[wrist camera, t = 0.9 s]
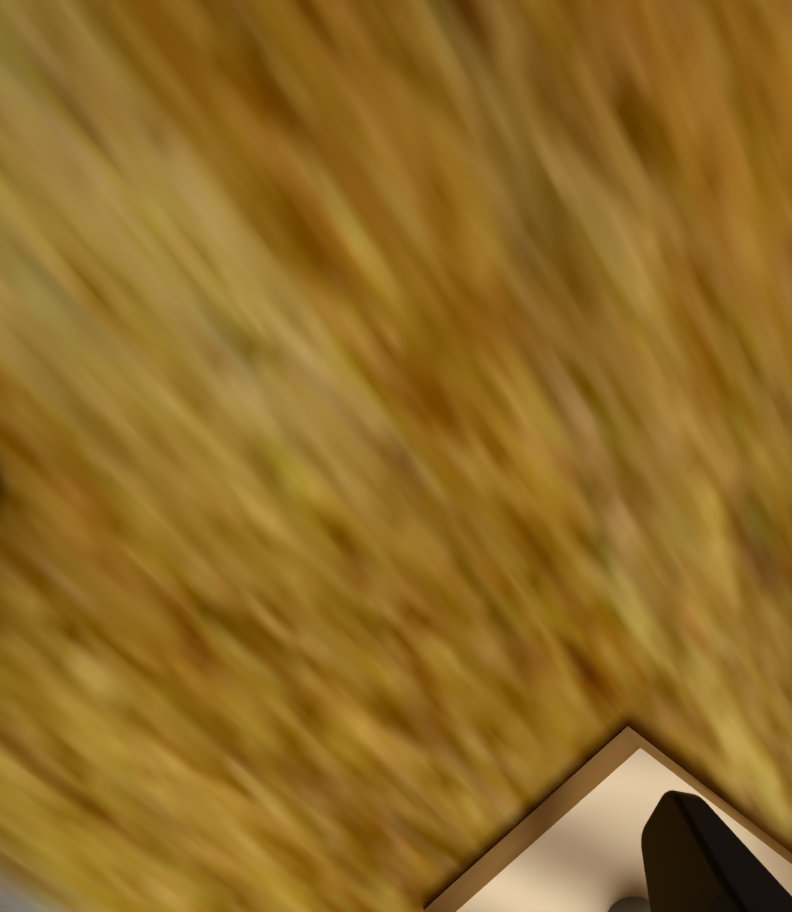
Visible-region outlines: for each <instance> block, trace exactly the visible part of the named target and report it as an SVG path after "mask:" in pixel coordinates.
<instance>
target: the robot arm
mask: <svg viewBox="0 0 792 912" xmlns="http://www.w3.org/2000/svg"><path fill="white" fill-rule="evenodd" d="M641 850H642V857H643V864H644V870H645V877H646V884H647V891H648V898H649V905H650V912H792V896H791V895H790V894H789V893H788V891H787V890H786V889H785V888H784V887H783V886H782V885H781V884H780V883H779V882H778V880H777V879H776V878H775V877H774V876H773V875H772V874H771V873H770V872H769V871H768V870H767V868H766V867H765V866H764V865H763V864H762V863H761V862H760V861H759V860H758V859H757V858H756V856H755V855H754V854H753V853H752V852H751V851H750V850H749V849H748V848H747V847H746V845H745V844H744V843H743V842H742V841H741V840H740V839H739V838H738V837H737V836H736V835H735V833H734V832H733V831H732V830H731V829H730V828H729V827H728V826H727V825H726V824H725V822H724V821H723V820H722V819H721V818H720V817H719V816H718V815H717V814H716V813H715V812H714V810H713V809H712V808H711V807H710V806H709V805H708V804H707V803H706V802H705V801H704V800H703V799H702V798H701V797H699V796H698V795H695V794H691V793H686V792H680V791H675V790H669V791H667V792H666V793H664V794H663V796H662V797H661V799H660V800H659V802H658V804H657V806H656V807H655V809H654V811H653V812H652V814H651V816H650V817H649V819H648V821H647V822H646V824H645V826H644V828H643V832H642V836H641Z"/></svg>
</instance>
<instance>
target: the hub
mask: <svg viewBox="0 0 792 912" xmlns="http://www.w3.org/2000/svg"><path fill="white" fill-rule="evenodd" d="M669 790H675V791H680V792H686V793H691V794H695V795H698V796H699V797H701V798H702V799H703V800H704V801H705V802H706V803H707V804H708V805H709V806H710V807H711V808H712V809H713V810H714V812H715V813H716V814H717V815H718V816H719V817H720V818H721V819H722V820H723V821H724V822H725V824H726V825H727V826H728V827H729V828H730V829H731V830H732V831H733V832H734V833H735V835H736V836H737V837H738V838H739V839H740V840H741V841H742V842H743V843H744V844H745V845H746V847H747V848H748V849H749V850H750V851H751V852H752V853H753V854H754V855H755V856H756V858H757V859H758V860H759V861H760V862H761V863H762V864H763V865H764V866H765V867H766V868H767V870H768V871H769V872H770V873H771V874H772V875H773V876H774V877H775V878H776V879H777V880H778V882H779V883H780V884H781V885H782V886H783V887H784V888H785V889H786V890H787V891H788V893H789V894H790V895H791V896H792V853H791V852H789V851H788V850H787V849H785V848H784V847H783V846H782V845H780V844H779V843H778V842H776V841H775V840H774V839H773V838H771V837H770V836H769V835H767V834H766V833H765V832H764V831H762V830H761V829H760V828H758V827H757V826H756V825H755V824H753V823H752V822H751V821H749V820H748V819H747V818H746V817H744V816H743V815H742V814H740V813H739V812H738V811H737V810H735V809H734V808H733V807H731V806H730V805H729V804H728V803H726V802H725V801H724V800H722V799H721V798H720V797H719V796H717V795H716V794H715V793H713V792H712V791H711V790H710V789H708V788H707V787H706V786H704V785H703V784H702V783H701V782H699V781H698V780H697V779H695V778H694V777H693V776H692V775H690V774H689V773H688V772H686V771H685V770H684V769H683V768H681V767H680V766H679V765H677V764H676V763H675V762H674V761H672V760H671V759H670V758H668V757H667V756H666V755H665V754H663V753H662V752H661V751H659V750H658V749H657V748H656V747H654V746H653V745H652V744H650V743H649V742H648V741H647V740H645V739H644V738H643V737H641V736H640V735H639V734H638V733H636V732H635V731H634V730H632V729H631V728H630V727H629V726H627V727H626V728H625V729H624V730H623V731H622V732H620V733H619V734H618V735H617V736H616V737H615V738H614V739H613V740H612V741H610V742H609V743H608V744H607V745H606V746H605V747H604V748H603V749H602V750H600V751H599V752H598V753H597V754H596V755H595V756H594V757H593V758H592V759H590V760H589V761H588V762H587V763H586V764H585V765H584V766H583V767H582V768H580V769H579V770H578V771H577V772H576V773H575V774H574V775H573V776H572V777H571V778H569V779H568V780H567V781H566V782H565V783H564V784H563V785H562V786H561V787H559V788H558V789H557V790H556V791H555V792H554V793H553V794H552V795H551V796H549V797H548V798H547V799H546V800H545V801H544V802H543V803H542V804H541V805H539V806H538V807H537V808H536V809H535V810H534V811H533V812H532V813H531V814H530V815H528V816H527V817H526V818H525V819H524V820H523V821H522V822H521V823H520V824H518V825H517V826H516V827H515V828H514V829H513V830H512V831H511V832H510V833H508V834H507V835H506V836H505V837H504V838H503V839H502V840H501V841H500V842H498V843H497V844H496V845H495V846H494V847H493V848H492V849H491V850H490V851H489V852H487V853H486V854H485V855H484V856H483V857H482V858H481V859H480V860H479V861H477V862H476V863H475V864H474V865H473V866H472V867H471V868H470V869H469V870H467V871H466V872H465V873H464V874H463V875H462V876H461V877H460V878H459V879H457V880H456V881H455V882H454V883H453V884H452V885H451V886H450V887H449V888H447V889H446V890H445V891H444V892H443V893H442V894H441V895H440V896H439V897H438V898H436V899H435V900H434V901H433V902H432V903H431V904H430V905H429V906H428V907H426V908H425V909H424V912H650V905H649V898H648V891H647V884H646V877H645V870H644V864H643V857H642V850H641V836H642V832H643V828H644V826H645V824H646V822H647V821H648V819H649V817H650V816H651V814H652V812H653V811H654V809H655V807H656V806H657V804H658V802H659V800H660V799H661V797H662V796H663V794H664V793H666V792H667V791H669Z"/></svg>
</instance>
